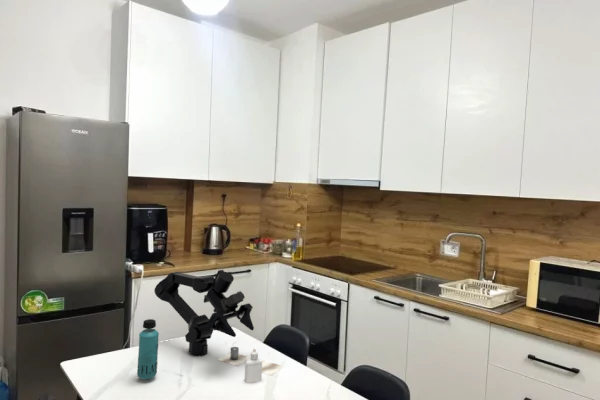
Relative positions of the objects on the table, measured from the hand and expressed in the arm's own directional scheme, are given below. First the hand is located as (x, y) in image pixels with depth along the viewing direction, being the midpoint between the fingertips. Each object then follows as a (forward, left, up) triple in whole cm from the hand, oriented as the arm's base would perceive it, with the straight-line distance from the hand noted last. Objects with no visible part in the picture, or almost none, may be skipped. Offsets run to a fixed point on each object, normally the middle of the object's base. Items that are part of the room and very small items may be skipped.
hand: (244, 332), depth 143 cm
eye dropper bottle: (+7, -4, -15) cm, 17 cm away
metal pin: (-8, +7, -14) cm, 18 cm away
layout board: (-1, +6, -15) cm, 16 cm away
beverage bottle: (-25, -20, -15) cm, 36 cm away
